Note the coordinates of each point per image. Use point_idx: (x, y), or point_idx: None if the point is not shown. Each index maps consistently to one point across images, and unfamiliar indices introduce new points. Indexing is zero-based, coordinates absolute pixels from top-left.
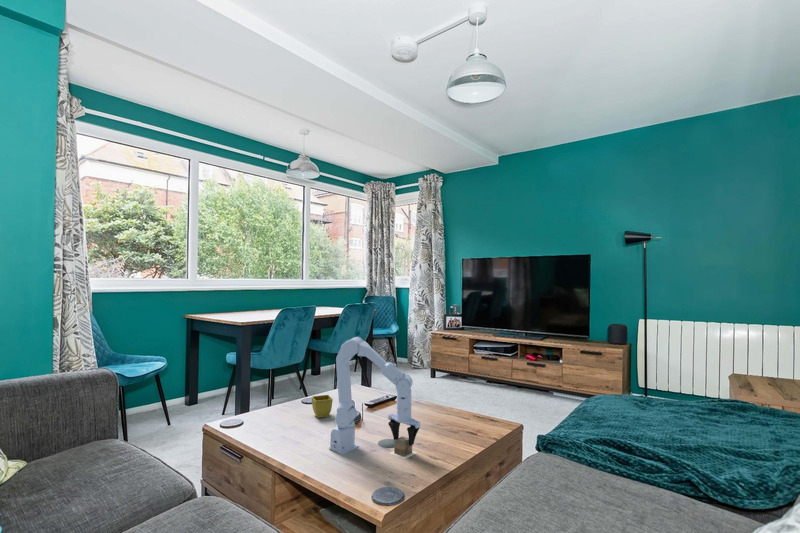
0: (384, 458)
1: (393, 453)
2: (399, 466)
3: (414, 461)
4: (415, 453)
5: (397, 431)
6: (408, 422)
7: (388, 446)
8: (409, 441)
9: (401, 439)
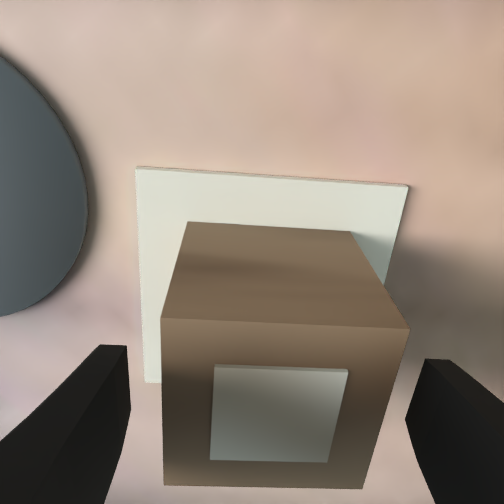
0: None
1: None
2: (367, 474)
3: (448, 356)
4: (397, 229)
5: (73, 483)
6: None
7: (9, 271)
8: (444, 490)
9: (245, 433)
